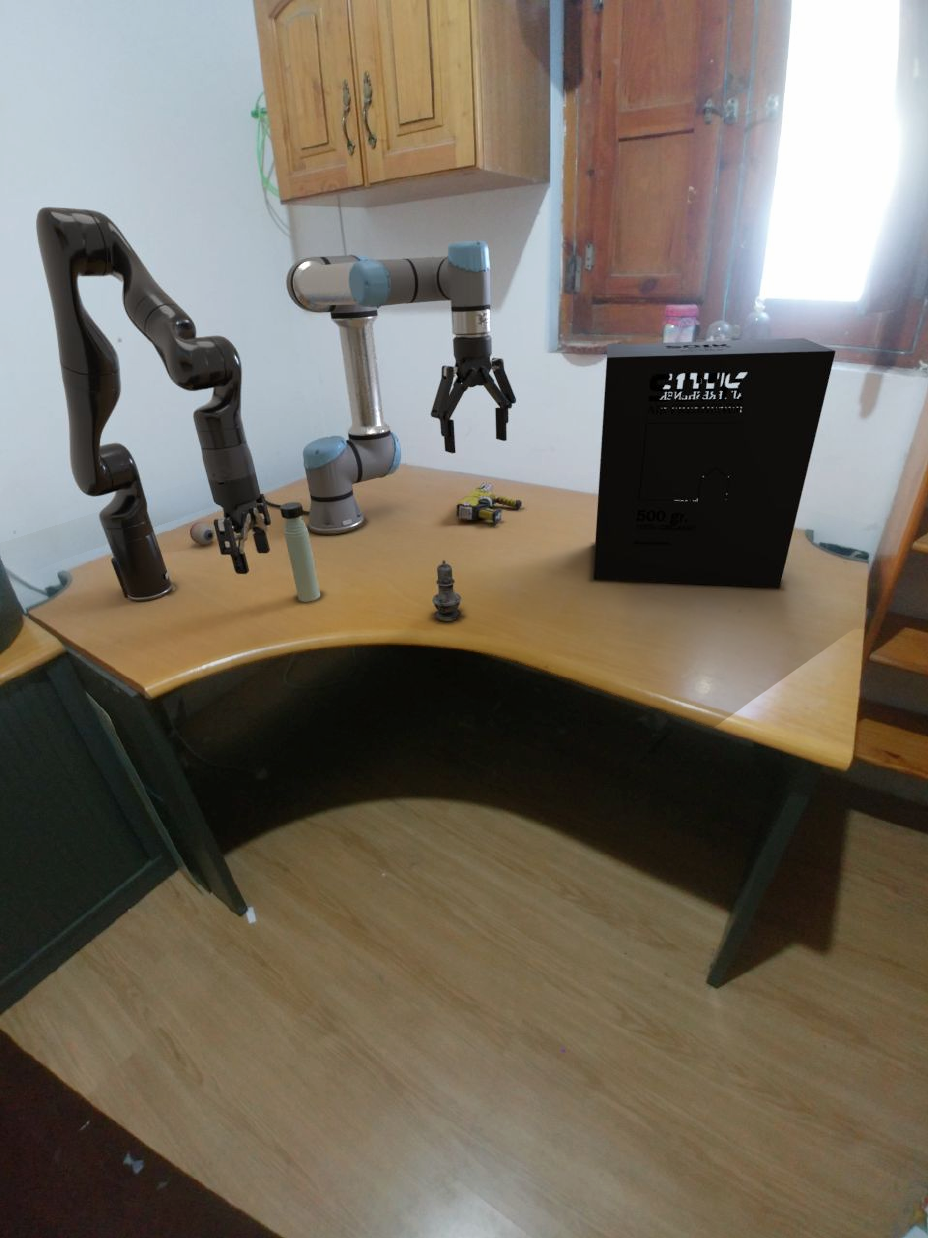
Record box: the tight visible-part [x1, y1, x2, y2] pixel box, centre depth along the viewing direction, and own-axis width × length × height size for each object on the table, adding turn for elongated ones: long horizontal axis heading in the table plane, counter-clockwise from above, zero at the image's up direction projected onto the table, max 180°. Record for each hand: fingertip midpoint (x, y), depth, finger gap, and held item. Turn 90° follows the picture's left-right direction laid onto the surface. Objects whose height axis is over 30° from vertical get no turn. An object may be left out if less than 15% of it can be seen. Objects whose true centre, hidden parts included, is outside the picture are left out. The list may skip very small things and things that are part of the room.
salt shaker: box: [431, 560, 462, 622], centre depth 119 cm, size 6×6×12 cm
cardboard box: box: [592, 337, 836, 589], centre depth 125 cm, size 38×20×45 cm, turn 78°
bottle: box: [284, 516, 321, 603], centre depth 127 cm, size 5×5×20 cm
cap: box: [279, 501, 304, 520], centre depth 122 cm, size 4×4×2 cm
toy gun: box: [455, 482, 523, 525], centre depth 172 cm, size 5×24×15 cm
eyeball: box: [189, 521, 216, 546], centre depth 160 cm, size 6×6×6 cm
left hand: (253, 562), depth 106 cm, fingers open, 8 cm apart
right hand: (476, 445), depth 127 cm, fingers open, 13 cm apart
